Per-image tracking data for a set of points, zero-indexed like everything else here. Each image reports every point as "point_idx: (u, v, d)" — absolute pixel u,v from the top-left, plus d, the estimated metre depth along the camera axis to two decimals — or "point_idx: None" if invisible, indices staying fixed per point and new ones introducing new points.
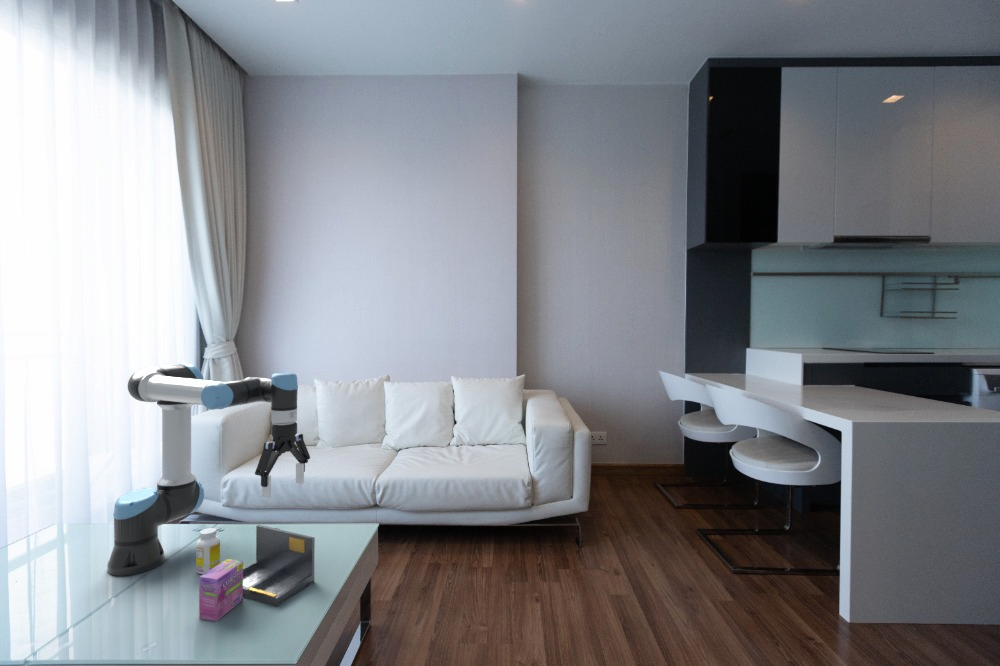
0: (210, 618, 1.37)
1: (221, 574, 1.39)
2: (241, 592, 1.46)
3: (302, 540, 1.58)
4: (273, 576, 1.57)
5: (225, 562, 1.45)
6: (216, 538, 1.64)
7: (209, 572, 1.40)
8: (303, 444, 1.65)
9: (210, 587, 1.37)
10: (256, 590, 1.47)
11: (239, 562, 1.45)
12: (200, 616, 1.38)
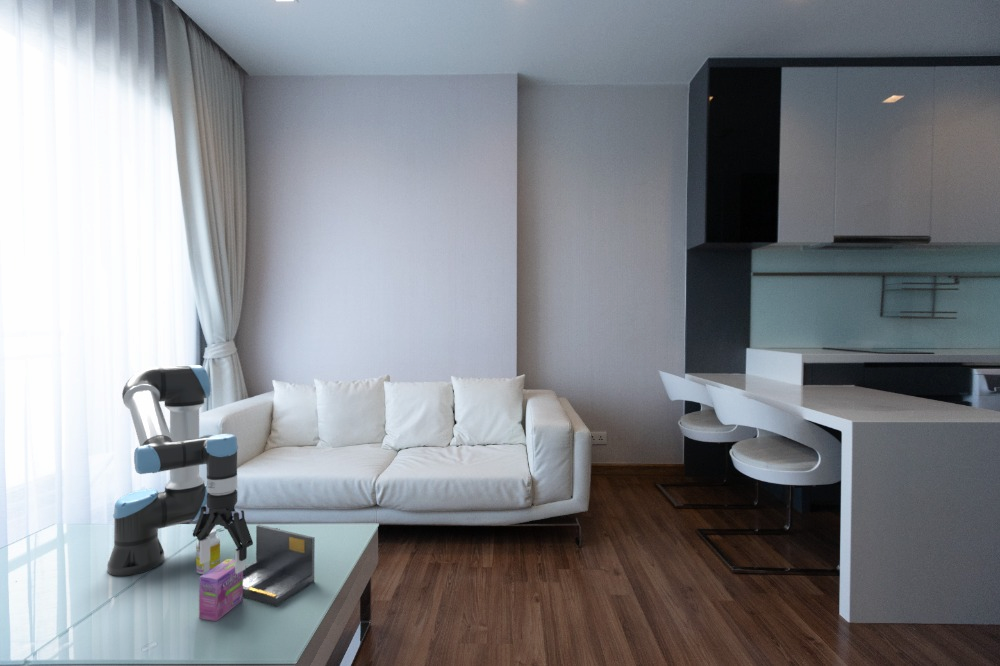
0: (210, 618, 1.37)
1: (222, 574, 1.39)
2: (241, 592, 1.46)
3: (302, 540, 1.58)
4: (273, 576, 1.57)
5: (225, 562, 1.45)
6: (216, 538, 1.64)
7: (209, 572, 1.40)
8: (237, 526, 1.38)
9: (210, 587, 1.37)
10: (256, 590, 1.47)
11: None
12: (200, 616, 1.38)
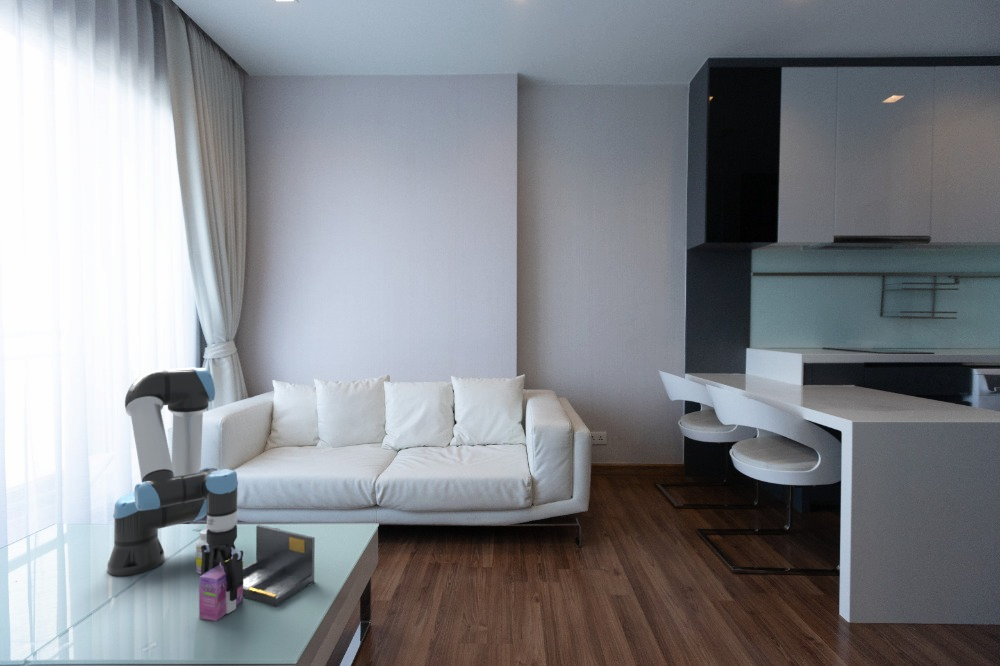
0: (210, 618, 1.37)
1: (221, 574, 1.39)
2: (241, 592, 1.46)
3: (302, 540, 1.58)
4: (273, 576, 1.57)
5: None
6: None
7: (209, 572, 1.40)
8: (233, 567, 1.39)
9: (210, 587, 1.37)
10: (256, 590, 1.47)
11: None
12: (200, 616, 1.38)
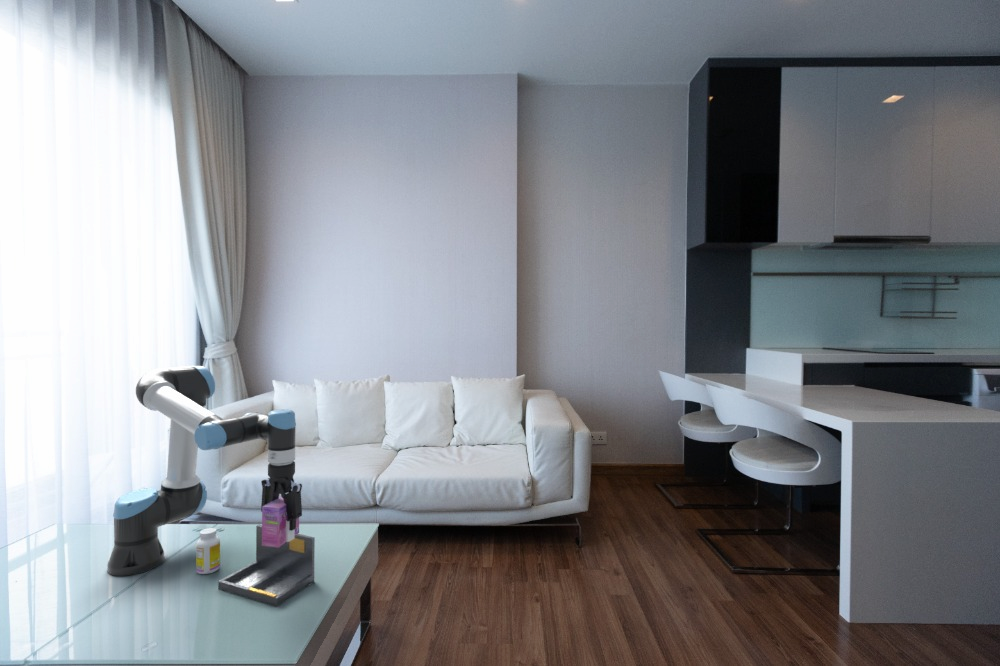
0: (272, 545, 1.47)
1: (282, 505, 1.49)
2: (298, 525, 1.56)
3: (302, 540, 1.58)
4: (273, 576, 1.57)
5: None
6: (216, 538, 1.64)
7: (270, 503, 1.50)
8: (293, 498, 1.49)
9: (272, 516, 1.47)
10: (256, 590, 1.47)
11: None
12: (263, 543, 1.48)
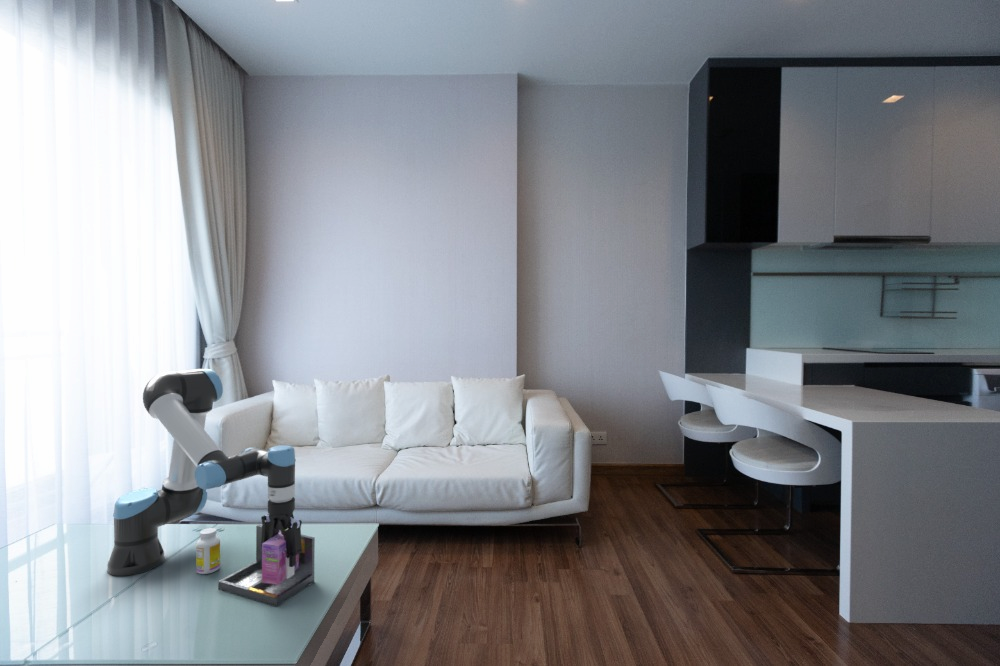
0: (272, 582, 1.48)
1: (282, 541, 1.49)
2: (298, 560, 1.57)
3: (302, 540, 1.58)
4: None
5: None
6: (216, 538, 1.64)
7: (270, 540, 1.50)
8: (293, 535, 1.49)
9: (272, 553, 1.47)
10: (256, 590, 1.47)
11: None
12: (263, 580, 1.48)
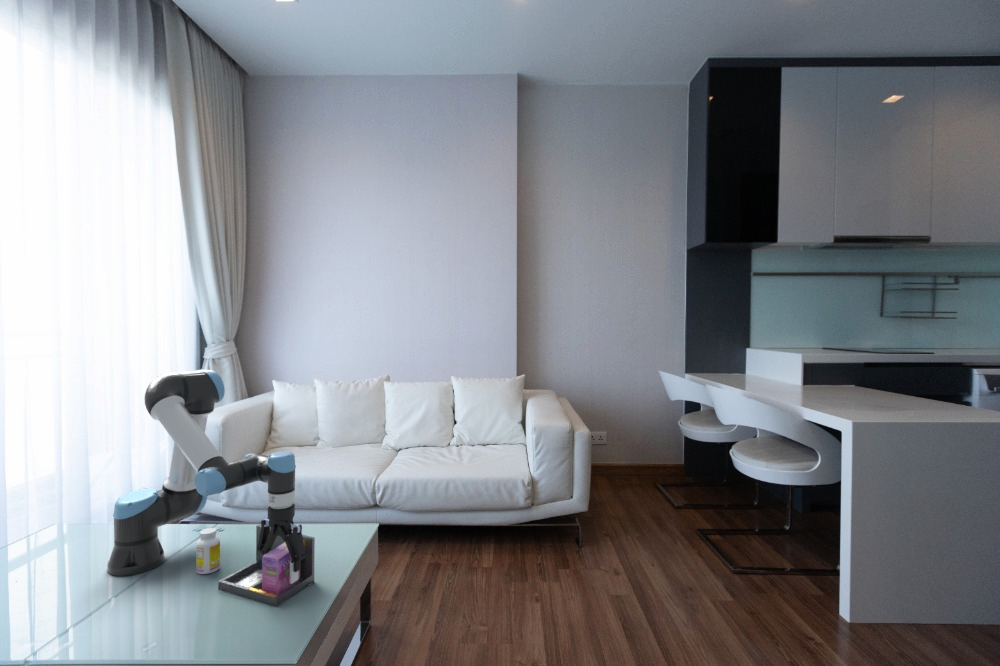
0: None
1: (282, 555, 1.49)
2: (299, 573, 1.56)
3: None
4: None
5: (285, 544, 1.56)
6: (216, 538, 1.64)
7: (270, 552, 1.51)
8: (294, 540, 1.49)
9: (271, 566, 1.48)
10: (256, 590, 1.47)
11: None
12: None
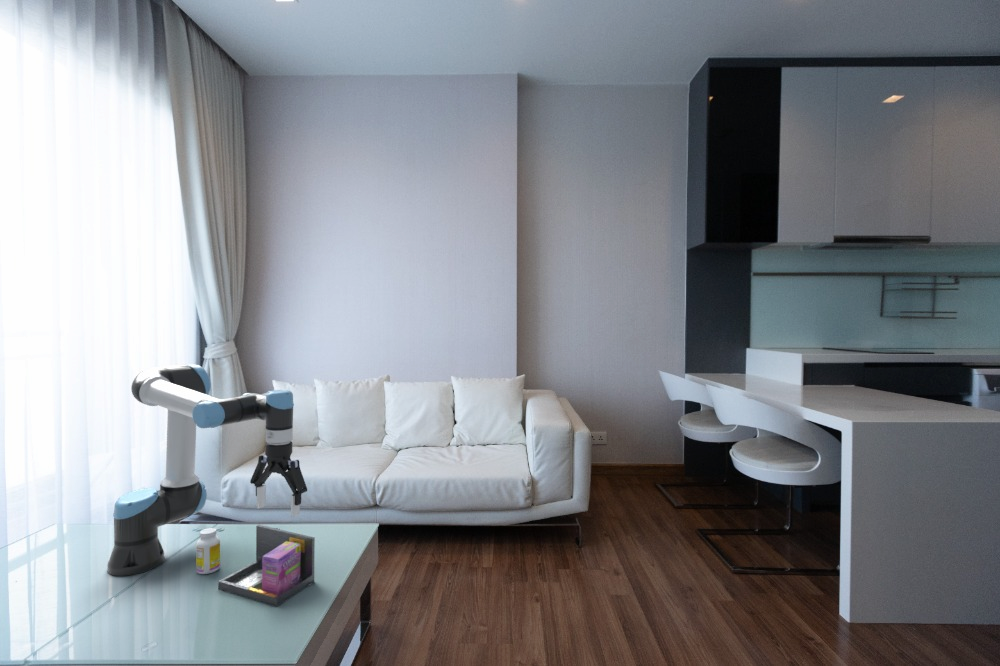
0: None
1: (282, 555, 1.49)
2: (299, 573, 1.56)
3: (302, 540, 1.58)
4: None
5: (285, 544, 1.56)
6: (216, 538, 1.64)
7: (270, 552, 1.51)
8: (293, 474, 1.50)
9: (271, 566, 1.48)
10: (256, 590, 1.47)
11: (297, 544, 1.56)
12: None
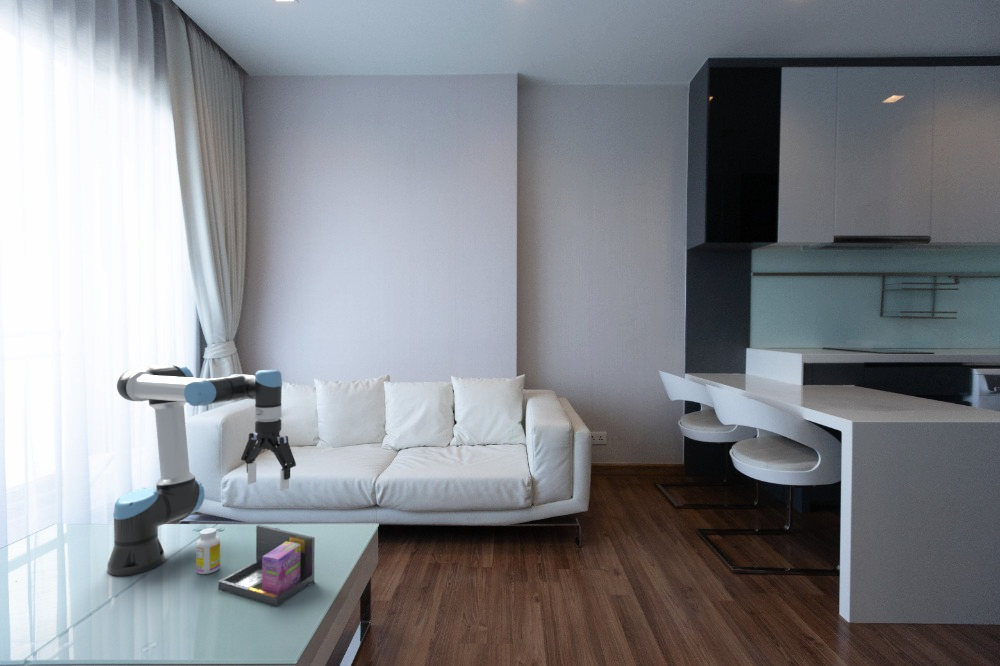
0: None
1: (282, 555, 1.49)
2: (299, 573, 1.56)
3: (302, 540, 1.58)
4: None
5: (285, 544, 1.56)
6: (216, 538, 1.64)
7: (270, 552, 1.51)
8: (282, 449, 1.56)
9: (271, 566, 1.48)
10: (256, 590, 1.47)
11: (297, 544, 1.56)
12: None
